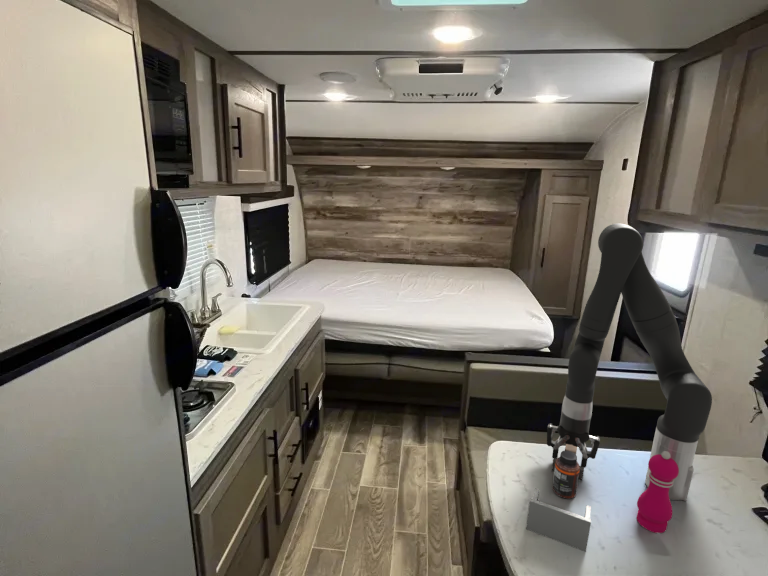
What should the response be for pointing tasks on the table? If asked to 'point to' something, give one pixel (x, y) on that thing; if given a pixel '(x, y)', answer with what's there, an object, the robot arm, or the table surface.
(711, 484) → the table surface
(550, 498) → the table surface
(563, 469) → the supplement bottle
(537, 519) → the grey u-shaped bracket
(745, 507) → the table surface
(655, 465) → the pepper mill
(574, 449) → the scraper
